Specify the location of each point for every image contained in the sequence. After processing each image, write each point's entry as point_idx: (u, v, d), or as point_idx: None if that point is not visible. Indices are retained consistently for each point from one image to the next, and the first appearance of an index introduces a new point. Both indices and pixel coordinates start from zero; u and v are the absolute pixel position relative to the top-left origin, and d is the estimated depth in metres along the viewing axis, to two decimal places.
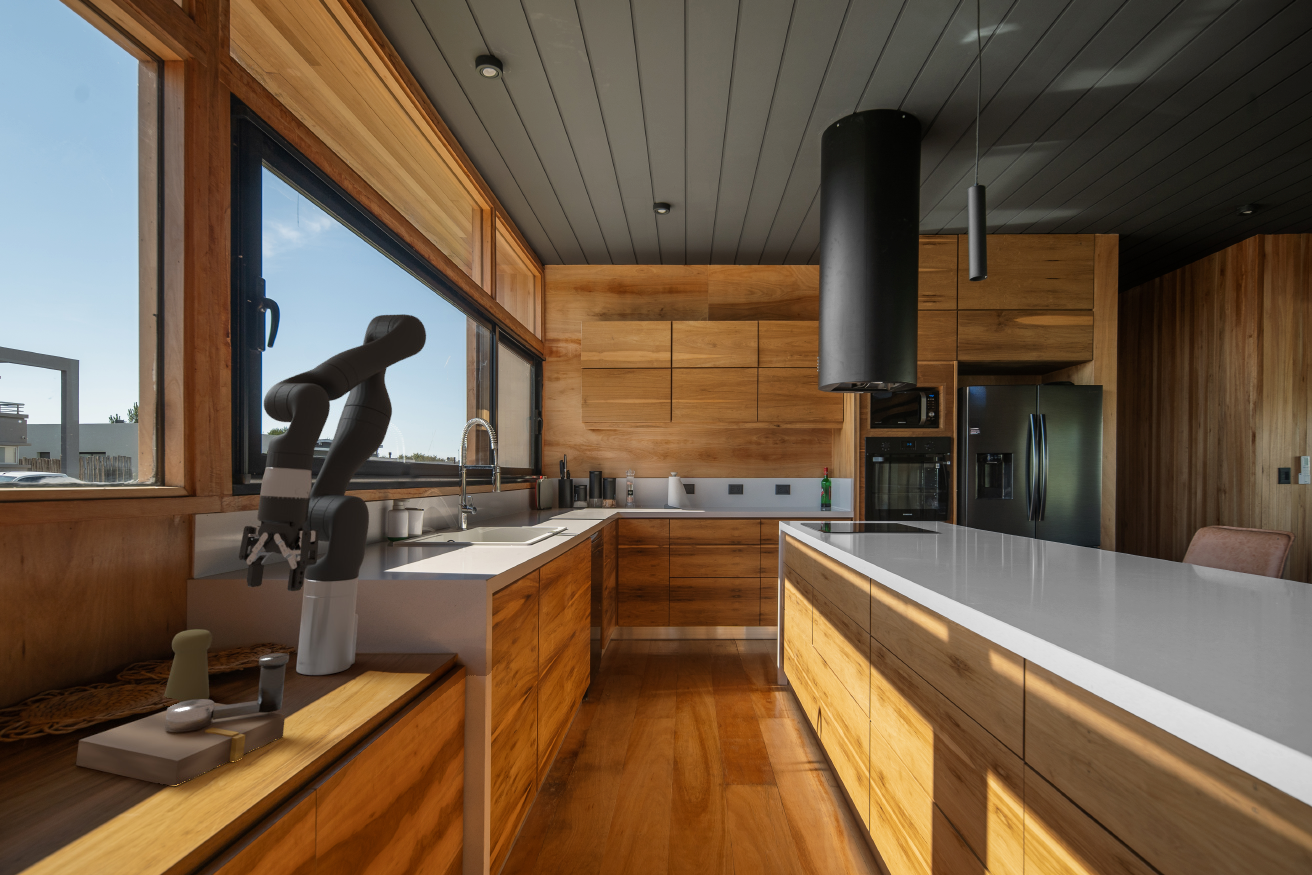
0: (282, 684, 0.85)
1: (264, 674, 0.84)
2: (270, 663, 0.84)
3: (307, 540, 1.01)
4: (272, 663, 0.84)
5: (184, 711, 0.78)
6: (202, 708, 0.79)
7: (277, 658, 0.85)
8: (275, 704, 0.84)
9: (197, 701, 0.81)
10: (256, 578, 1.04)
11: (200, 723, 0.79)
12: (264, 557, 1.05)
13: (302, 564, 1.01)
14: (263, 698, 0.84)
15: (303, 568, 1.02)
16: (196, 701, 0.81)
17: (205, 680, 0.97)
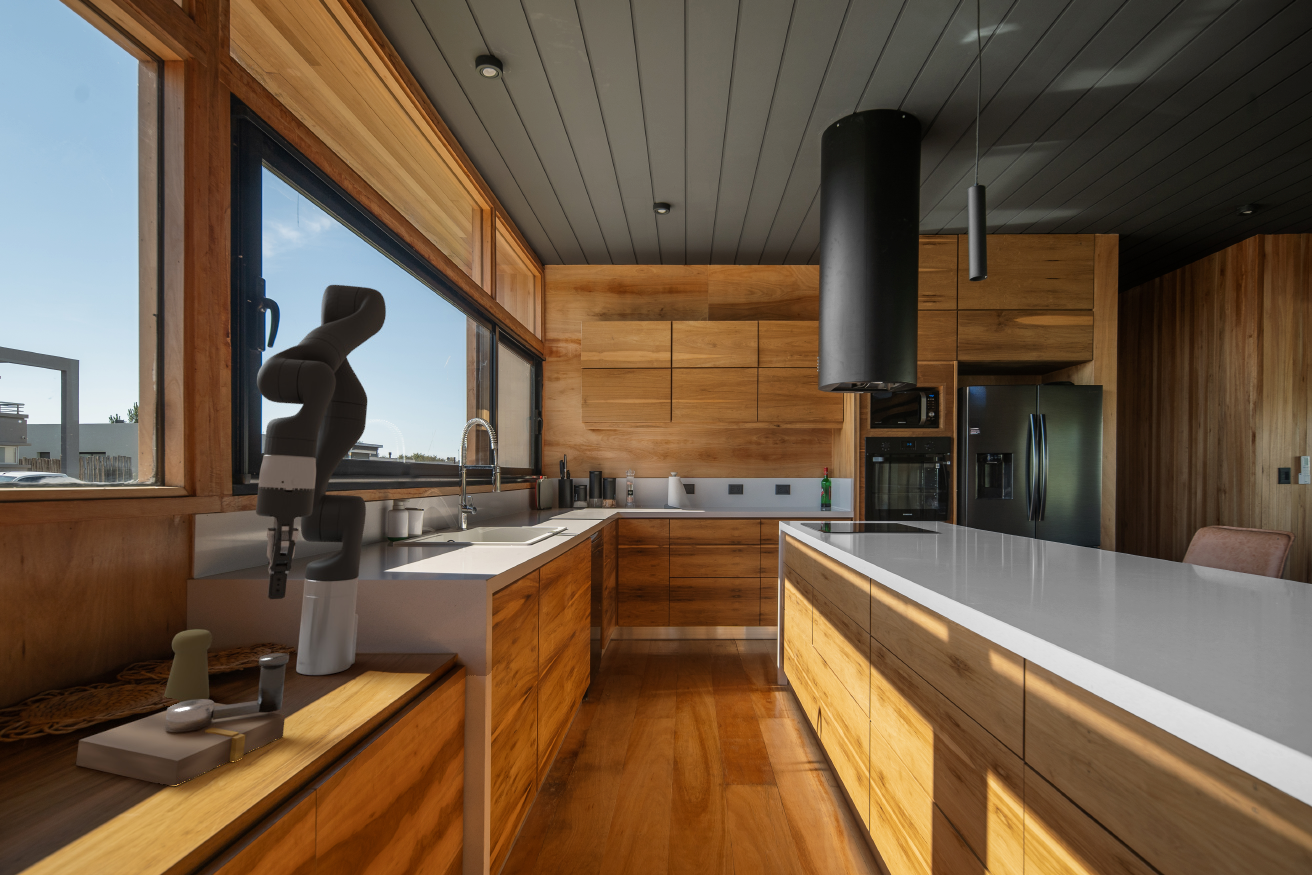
0: (282, 684, 0.85)
1: (264, 674, 0.84)
2: (270, 663, 0.84)
3: None
4: (272, 663, 0.84)
5: (184, 711, 0.78)
6: (202, 708, 0.79)
7: (277, 658, 0.85)
8: (275, 704, 0.84)
9: (197, 701, 0.81)
10: None
11: (200, 723, 0.79)
12: None
13: None
14: (263, 698, 0.84)
15: None
16: (196, 701, 0.81)
17: (205, 680, 0.97)
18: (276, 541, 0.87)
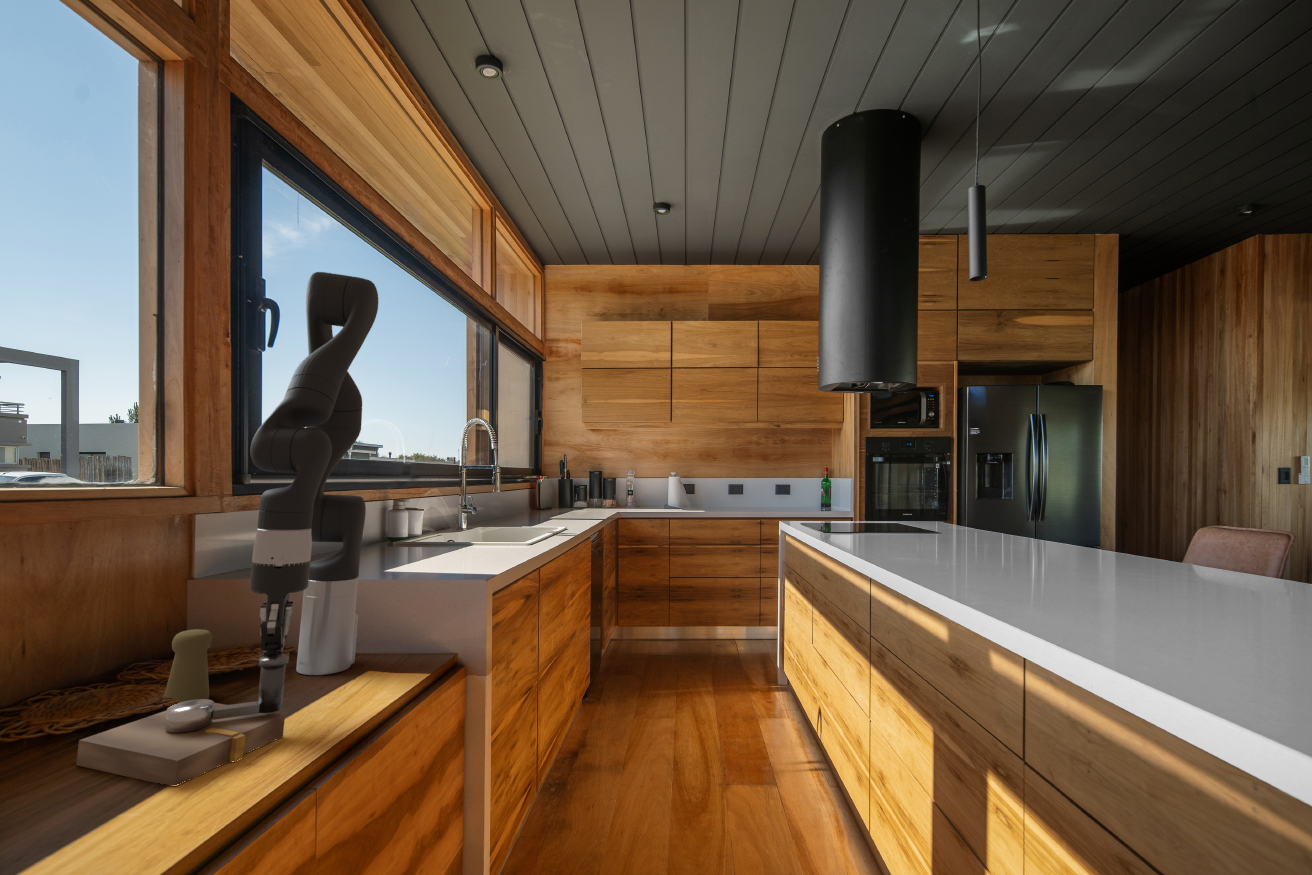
0: (282, 685, 0.85)
1: (264, 674, 0.84)
2: (270, 663, 0.84)
3: None
4: (272, 663, 0.84)
5: (184, 711, 0.78)
6: (202, 708, 0.79)
7: (277, 658, 0.85)
8: (275, 705, 0.84)
9: (197, 701, 0.81)
10: None
11: (199, 723, 0.79)
12: None
13: (285, 638, 0.92)
14: (263, 699, 0.83)
15: None
16: (196, 701, 0.81)
17: (205, 680, 0.97)
18: (262, 622, 0.84)
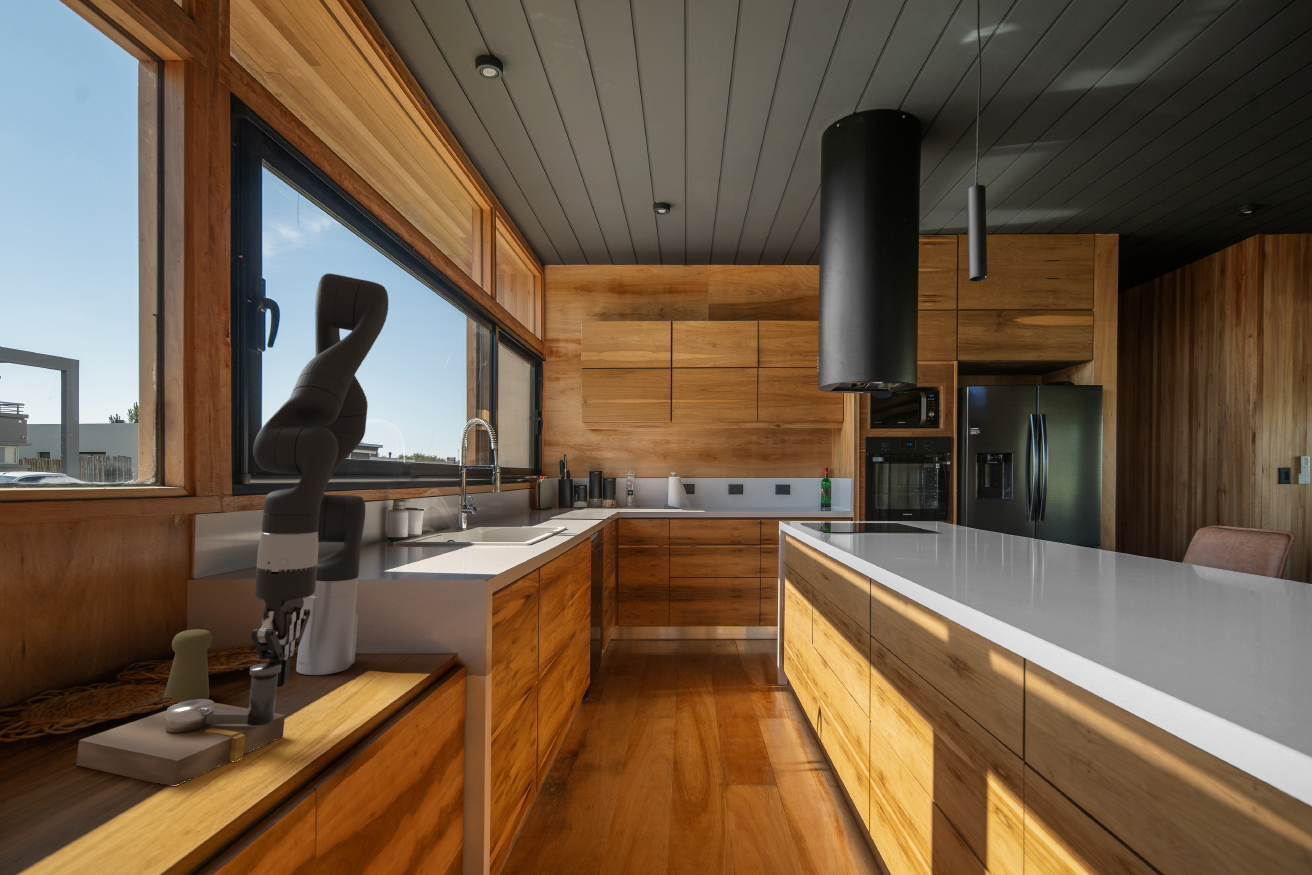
0: (269, 697, 0.80)
1: (251, 684, 0.80)
2: (254, 673, 0.79)
3: (306, 621, 0.91)
4: (255, 673, 0.79)
5: (176, 710, 0.78)
6: (191, 711, 0.78)
7: (264, 669, 0.80)
8: (260, 718, 0.79)
9: (202, 701, 0.81)
10: None
11: (188, 726, 0.78)
12: None
13: (298, 646, 0.88)
14: (249, 709, 0.79)
15: None
16: (202, 701, 0.81)
17: (205, 680, 0.97)
18: (253, 630, 0.80)
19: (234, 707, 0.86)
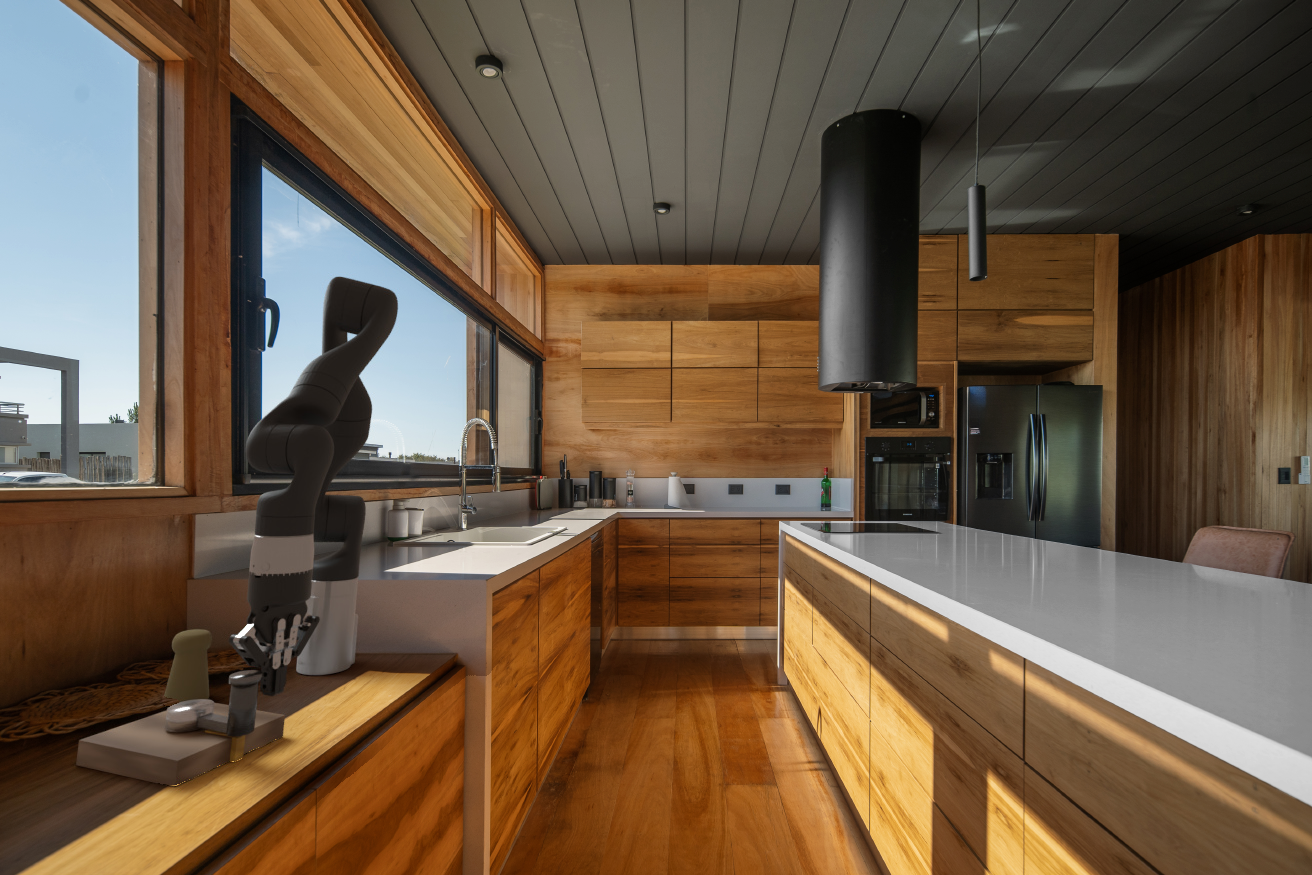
0: (244, 708, 0.76)
1: None
2: (230, 681, 0.76)
3: (313, 629, 0.87)
4: (230, 681, 0.76)
5: (173, 709, 0.78)
6: (183, 712, 0.78)
7: (240, 677, 0.77)
8: (234, 729, 0.76)
9: (205, 702, 0.81)
10: None
11: (179, 727, 0.77)
12: (268, 653, 0.82)
13: (298, 654, 0.84)
14: (227, 718, 0.76)
15: None
16: (205, 702, 0.81)
17: (205, 680, 0.97)
18: (232, 636, 0.77)
19: None
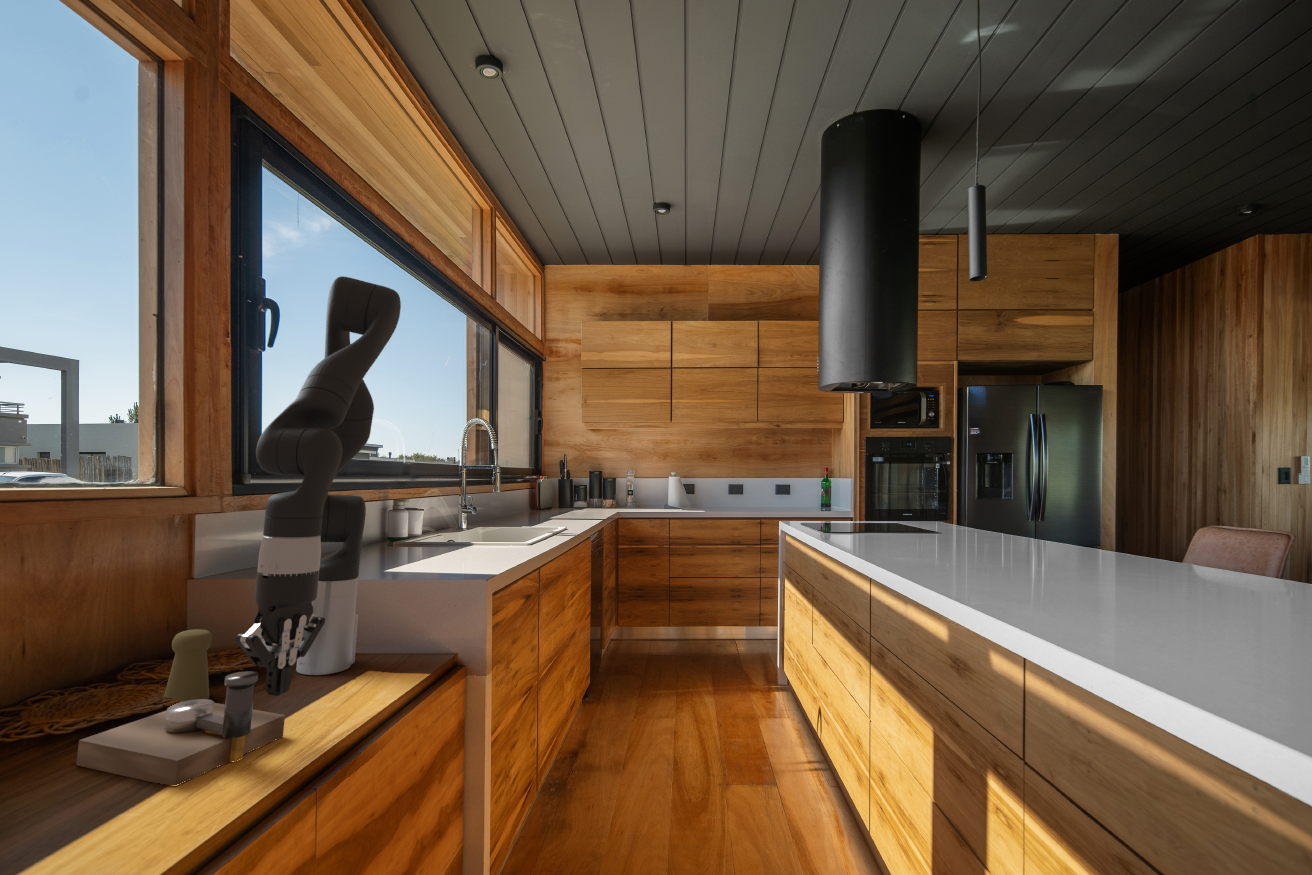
0: (240, 709, 0.76)
1: None
2: (225, 682, 0.76)
3: (319, 630, 0.88)
4: (226, 682, 0.76)
5: (172, 709, 0.78)
6: (182, 712, 0.78)
7: (235, 678, 0.76)
8: (230, 730, 0.75)
9: (205, 703, 0.81)
10: None
11: (177, 727, 0.77)
12: (273, 653, 0.83)
13: (303, 655, 0.85)
14: (223, 719, 0.76)
15: None
16: (206, 702, 0.81)
17: (205, 680, 0.97)
18: (239, 634, 0.78)
19: None
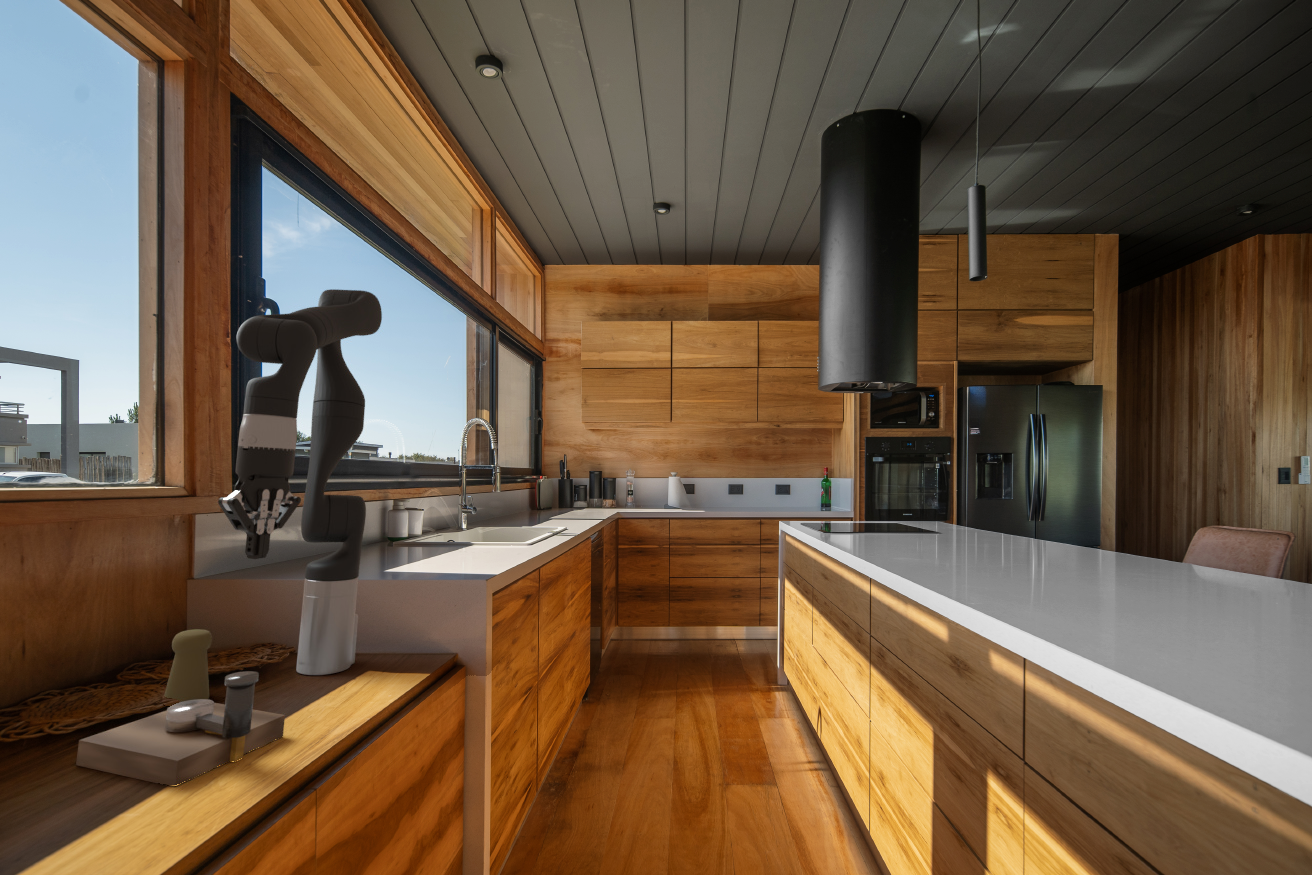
0: (240, 709, 0.76)
1: None
2: (225, 682, 0.76)
3: (295, 507, 0.97)
4: (226, 682, 0.76)
5: (172, 709, 0.78)
6: (182, 712, 0.78)
7: (235, 678, 0.76)
8: (230, 730, 0.75)
9: (205, 703, 0.81)
10: None
11: (177, 727, 0.77)
12: (253, 522, 0.91)
13: (280, 527, 0.94)
14: (223, 719, 0.76)
15: None
16: (206, 702, 0.81)
17: (205, 680, 0.97)
18: (221, 498, 0.87)
19: None
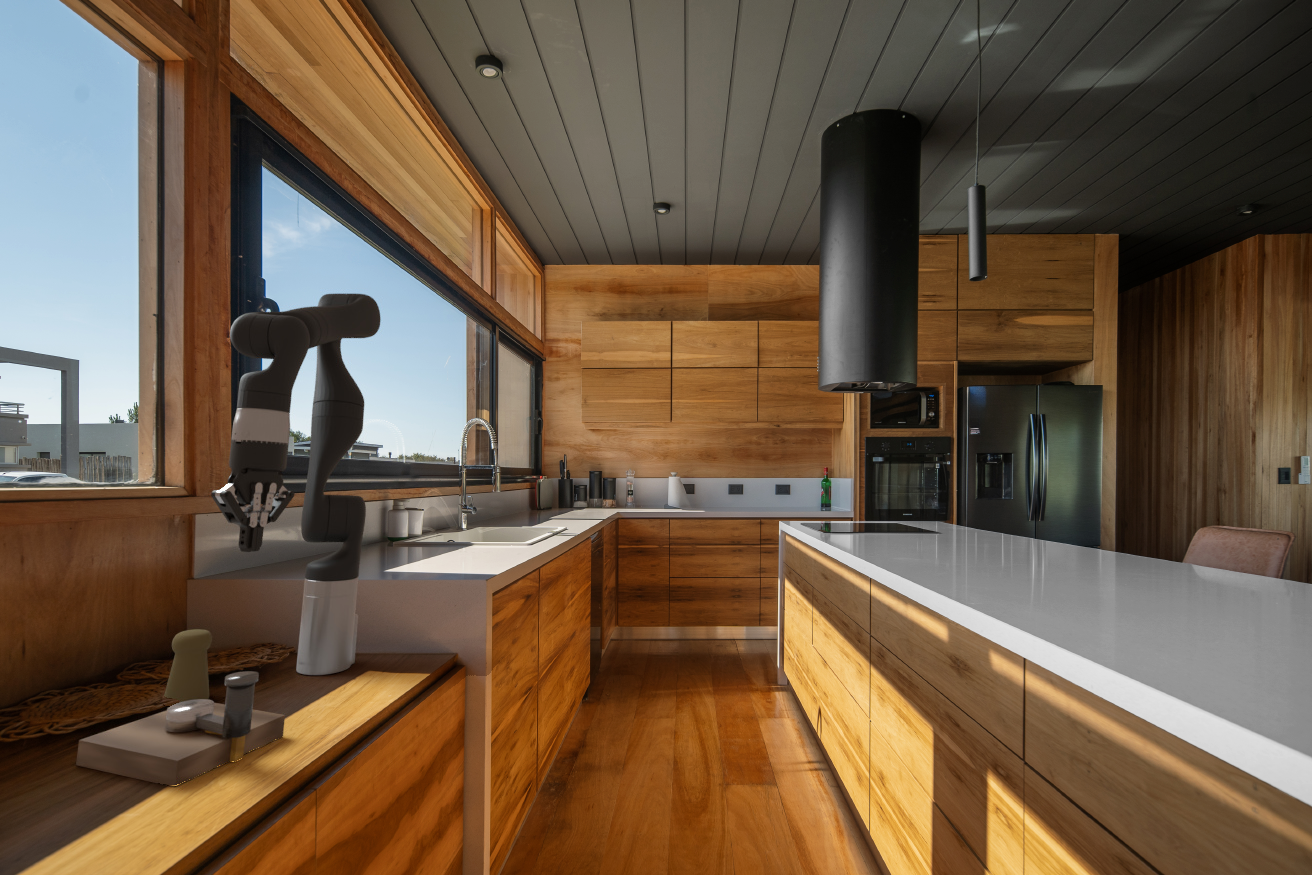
0: (240, 709, 0.76)
1: None
2: (225, 682, 0.76)
3: (288, 501, 0.97)
4: (226, 682, 0.76)
5: (172, 709, 0.78)
6: (182, 712, 0.78)
7: (235, 678, 0.76)
8: (230, 730, 0.75)
9: (205, 703, 0.81)
10: None
11: (177, 727, 0.77)
12: (246, 515, 0.92)
13: (273, 520, 0.95)
14: (223, 719, 0.76)
15: None
16: (206, 702, 0.81)
17: (205, 680, 0.97)
18: (214, 491, 0.87)
19: None
